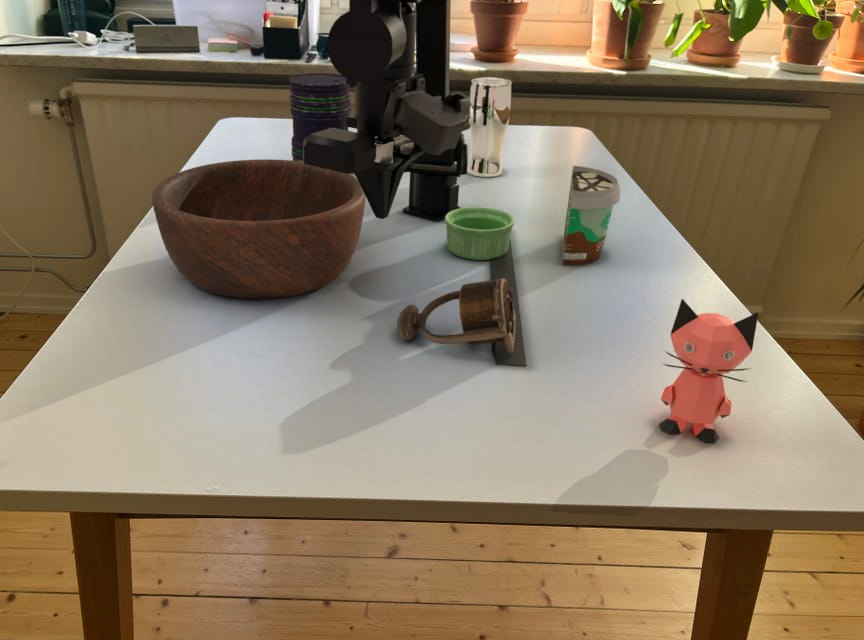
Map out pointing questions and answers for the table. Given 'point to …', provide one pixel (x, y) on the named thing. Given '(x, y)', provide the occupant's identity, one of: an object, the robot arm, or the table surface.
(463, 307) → the bronze metal cylindrical vessel
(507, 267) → the dark grey flat bar
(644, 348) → the table surface
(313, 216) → the wooden bowl
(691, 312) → the cat figurine
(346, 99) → the storage jar
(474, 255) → the ramekin
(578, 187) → the food container
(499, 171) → the beer glass
